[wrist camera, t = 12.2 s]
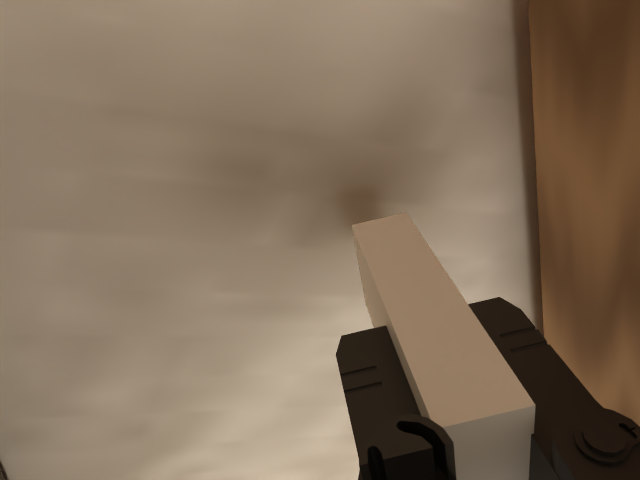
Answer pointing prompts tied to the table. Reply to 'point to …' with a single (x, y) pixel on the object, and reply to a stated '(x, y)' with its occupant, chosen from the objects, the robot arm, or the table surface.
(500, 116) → the table surface
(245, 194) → the table surface
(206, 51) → the table surface
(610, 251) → the gate
